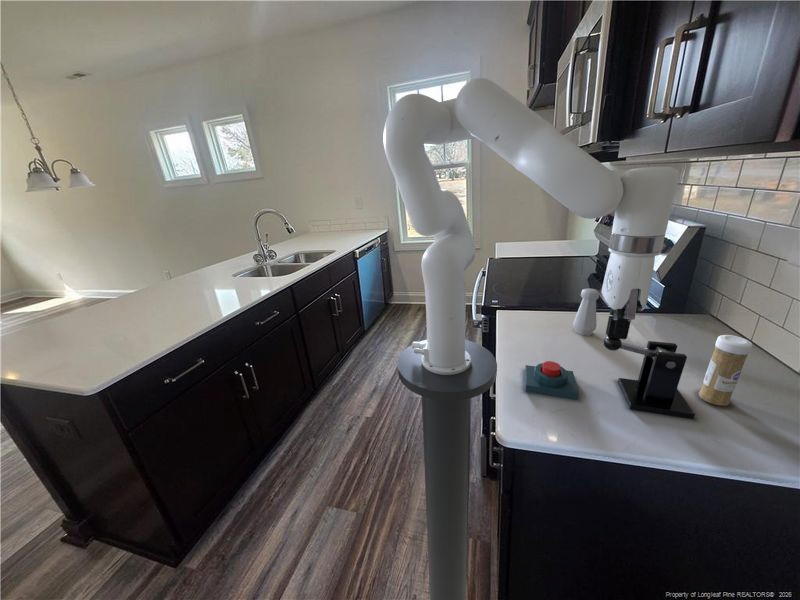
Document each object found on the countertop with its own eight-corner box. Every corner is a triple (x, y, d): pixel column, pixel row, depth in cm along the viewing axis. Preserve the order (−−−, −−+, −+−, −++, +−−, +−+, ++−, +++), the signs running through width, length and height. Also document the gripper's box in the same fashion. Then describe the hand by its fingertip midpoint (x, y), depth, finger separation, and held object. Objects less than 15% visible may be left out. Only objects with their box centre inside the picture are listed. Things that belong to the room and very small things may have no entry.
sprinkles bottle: (723, 410, 60) (748, 348, 55) (693, 397, 64) (713, 338, 59) (733, 401, 62) (757, 341, 57) (703, 389, 66) (723, 331, 61)
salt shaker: (567, 329, 93) (573, 288, 88) (583, 326, 94) (590, 285, 89) (583, 338, 88) (591, 294, 83) (599, 334, 89) (608, 291, 84)
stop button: (542, 375, 68) (543, 369, 67) (541, 366, 71) (542, 360, 71) (560, 378, 67) (562, 371, 66) (559, 369, 70) (560, 362, 69)
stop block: (525, 391, 68) (526, 378, 67) (524, 371, 75) (526, 358, 74) (577, 399, 65) (580, 385, 64) (571, 377, 72) (574, 364, 71)
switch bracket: (629, 409, 62) (643, 357, 57) (617, 382, 69) (628, 334, 65) (693, 419, 58) (713, 365, 54) (673, 389, 66) (688, 340, 62)
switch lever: (602, 350, 62) (609, 338, 61) (599, 343, 65) (605, 331, 64) (672, 369, 59) (680, 356, 58) (665, 361, 62) (673, 348, 61)
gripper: (600, 235, 63) (587, 319, 70) (622, 253, 50) (602, 354, 57) (646, 235, 60) (627, 322, 67) (680, 254, 47) (652, 359, 54)
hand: (615, 336), depth 62 cm, fingers closed
